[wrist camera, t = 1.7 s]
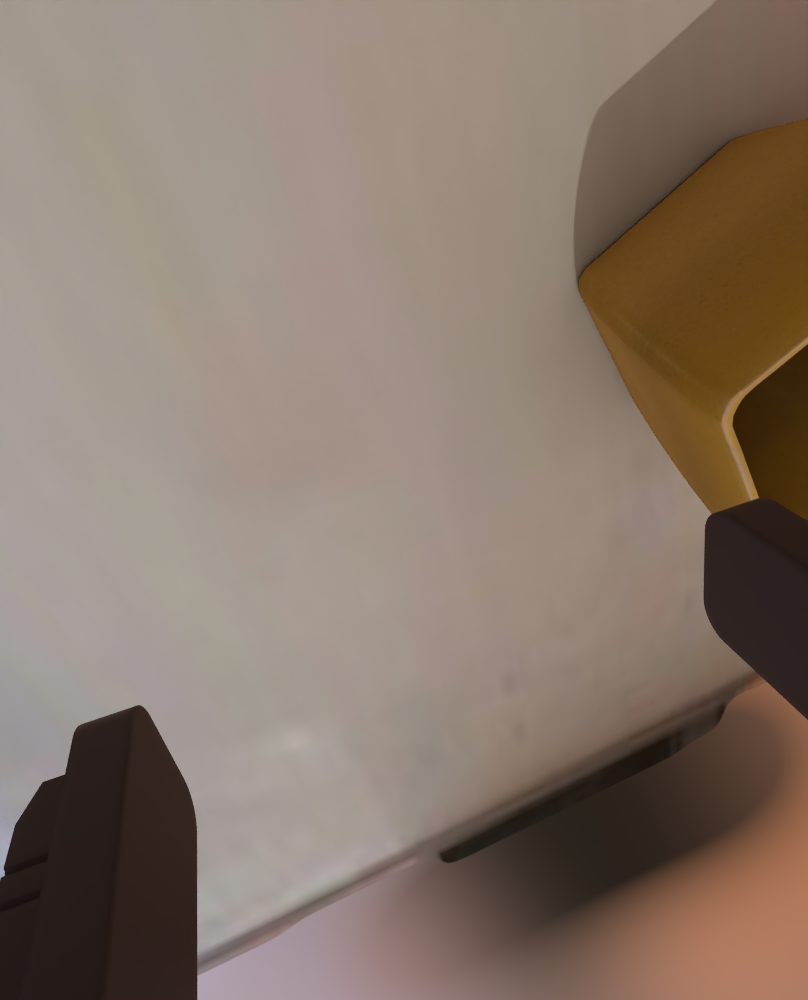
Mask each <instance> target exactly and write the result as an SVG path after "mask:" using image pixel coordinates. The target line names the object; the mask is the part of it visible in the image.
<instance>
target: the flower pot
mask: <svg viewBox="0 0 808 1000" xmlns="http://www.w3.org/2000/svg"><path fill="white" fill-rule="evenodd" d="M579 292H580V294H581V297H582V299H583V301H584V302H585V304H586V306H587V308H588V310H589V312H590V314H591V316H592V318H593V320H594V322H595V324H596V326H597V328H598V330H599V332H600V334H601V336H602V338H603V340H604V342H605V344H606V346H607V348H608V350H609V352H610V354H611V356H612V358H613V360H614V362H615V364H616V366H617V368H618V370H619V372H620V374H621V376H622V378H623V380H624V382H625V384H626V386H627V388H628V390H629V392H630V394H631V396H632V398H633V400H634V402H635V404H636V405H637V407H638V409H639V410H640V412H641V414H642V415H643V417H644V419H645V420H646V422H647V423H648V425H649V426H650V428H651V430H652V431H653V433H654V434H655V436H656V437H657V439H658V440H659V442H660V443H661V445H662V446H663V448H664V449H665V451H666V452H667V454H668V455H669V457H670V458H671V460H672V461H673V463H674V464H675V465H676V467H677V468H678V470H679V471H680V472H681V474H682V475H683V477H684V478H685V479H686V481H687V482H688V484H689V485H690V486H691V488H692V489H693V490H694V492H695V493H696V494H697V495H698V497H699V498H700V499H701V501H702V502H703V503H704V504H705V506H706V507H707V508H708V509H709V511H710V512H711V513H712V514H713V513H716V512H719V511H722V510H724V509H727V508H730V507H733V506H736V505H739V504H742V503H745V502H748V501H751V500H754V499H757V498H761V497H763V498H769V499H772V500H774V501H775V502H777V503H779V504H780V505H782V506H784V507H785V508H787V509H789V510H790V511H792V512H794V513H795V514H797V515H799V516H800V517H802V518H803V519H805V520H808V119H804V120H800V121H796V122H792V123H788V124H784V125H780V126H776V127H772V128H767V129H764V130H760V131H757V132H754V133H751V134H748V135H744V136H741V137H738V138H735V139H734V140H732V141H730V142H729V143H728V144H726V145H725V146H724V147H723V148H722V149H721V150H720V151H719V152H718V153H716V154H715V155H714V156H713V157H712V158H711V159H710V160H709V161H707V162H706V163H705V164H704V165H703V166H702V167H701V168H700V169H698V170H697V171H696V172H695V173H694V174H693V175H692V176H690V177H689V178H688V179H687V180H686V181H685V182H684V183H682V184H681V185H680V186H679V187H678V188H677V189H676V190H674V191H673V192H672V193H671V194H670V195H669V196H668V197H666V198H665V199H664V200H663V201H662V202H661V203H660V204H659V205H657V206H656V207H655V208H654V209H653V210H652V211H651V212H649V213H648V214H647V215H646V216H645V217H644V218H643V219H641V220H640V221H639V222H638V223H637V224H636V225H635V226H633V227H632V228H631V229H630V230H629V231H628V232H627V233H625V234H624V235H623V236H622V237H621V238H620V239H619V240H618V241H616V242H615V243H614V244H613V245H612V246H611V247H610V248H609V249H607V250H606V251H605V252H604V253H603V254H602V255H600V256H599V257H598V258H597V259H596V260H595V261H593V262H592V263H591V264H590V265H589V266H588V267H587V268H586V269H585V270H584V272H583V273H582V275H581V277H580V280H579Z"/></svg>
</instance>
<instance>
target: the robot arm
mask: <svg viewBox="0 0 808 1000" xmlns="http://www.w3.org/2000/svg"><path fill="white" fill-rule="evenodd" d="M704 605H705V610H706V613H707V616H708V618H709V621H710V623H711V625H712V626H713V628H714V630H715V631H716V633H717V634H718V635H719V637H720V638H721V639H722V640H723V641H724V642H725V643H726V644H727V645H728V646H729V647H730V648H731V649H732V650H733V651H734V652H736V653H737V654H738V655H739V656H740V657H741V658H742V659H743V660H744V661H745V662H746V663H747V664H748V665H749V666H751V667H752V668H753V669H754V670H755V671H756V672H757V673H758V674H759V675H760V676H761V677H762V678H763V679H765V680H766V681H767V682H768V683H769V684H770V685H771V686H772V687H773V688H774V689H775V690H776V691H777V692H778V693H780V694H781V695H782V696H783V697H784V698H785V699H786V700H787V701H788V702H789V703H790V704H791V705H792V706H794V707H795V708H796V709H797V710H798V711H799V712H800V713H801V714H802V715H803V716H804V717H805V718H807V720H808V520H805V519H803V518H802V517H800V516H799V515H797V514H795V513H794V512H792V511H790V510H789V509H787V508H785V507H784V506H782V505H780V504H779V503H777V502H775V501H774V500H772V499H769V498H763V497H761V498H757V499H754V500H751V501H748V502H745V503H742V504H739V505H736V506H733V507H730V508H727V509H724V510H722V511H719V512H716V513H713V514H711V515H710V516H709V517H708V519H707V521H706V525H705V555H704ZM4 870H5V876H4V877H2V878H1V880H0V1000H197V825H196V817H195V811H194V806H193V802H192V798H191V795H190V792H189V789H188V787H187V784H186V782H185V780H184V778H183V776H182V774H181V772H180V771H179V769H178V767H177V765H176V763H175V761H174V759H173V758H172V756H171V754H170V752H169V750H168V748H167V746H166V745H165V743H164V741H163V739H162V737H161V735H160V733H159V732H158V730H157V728H156V726H155V724H154V722H153V721H152V719H151V717H150V715H149V713H148V712H147V711H146V709H145V708H144V707H142V706H140V705H138V706H135V707H132V708H129V709H126V710H123V711H120V712H117V713H114V714H111V715H108V716H105V717H102V718H99V719H96V720H93V721H90V722H87V723H84V724H81V725H79V726H78V727H77V728H76V730H75V732H74V735H73V739H72V744H71V749H70V754H69V759H68V763H67V768H66V773H65V775H62V776H59V777H57V778H54V779H51V780H48V781H45V782H43V783H42V784H41V786H40V787H39V789H38V790H37V792H36V794H35V795H34V797H33V798H32V800H31V801H30V803H29V804H28V806H27V808H26V809H25V811H24V812H23V814H22V815H21V817H20V818H19V820H18V822H17V823H16V825H15V828H14V832H13V835H12V839H11V843H10V847H9V850H8V854H7V858H6V862H5V865H4Z"/></svg>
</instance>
